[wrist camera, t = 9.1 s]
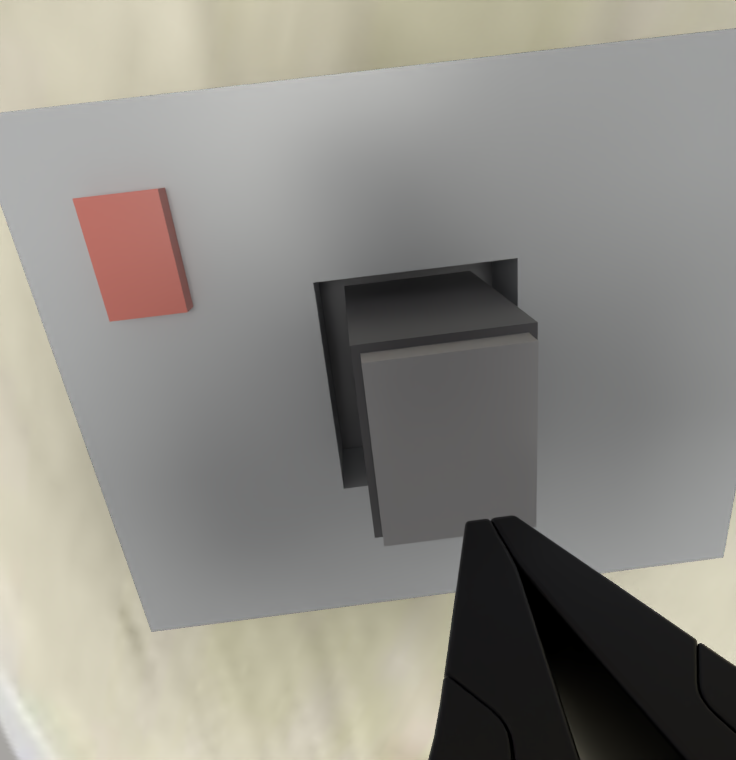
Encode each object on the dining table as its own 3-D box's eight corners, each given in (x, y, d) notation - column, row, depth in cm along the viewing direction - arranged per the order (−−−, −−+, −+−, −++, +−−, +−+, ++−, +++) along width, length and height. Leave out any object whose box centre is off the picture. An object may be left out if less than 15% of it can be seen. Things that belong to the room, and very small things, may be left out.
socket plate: (732, 45, 15) (843, 11, 12) (672, 506, 21) (735, 569, 18) (37, 125, 15) (-49, 113, 12) (175, 570, 21) (145, 646, 18)
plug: (469, 270, 17) (548, 330, 11) (475, 412, 19) (545, 532, 13) (344, 286, 17) (350, 354, 11) (362, 427, 19) (376, 554, 12)
